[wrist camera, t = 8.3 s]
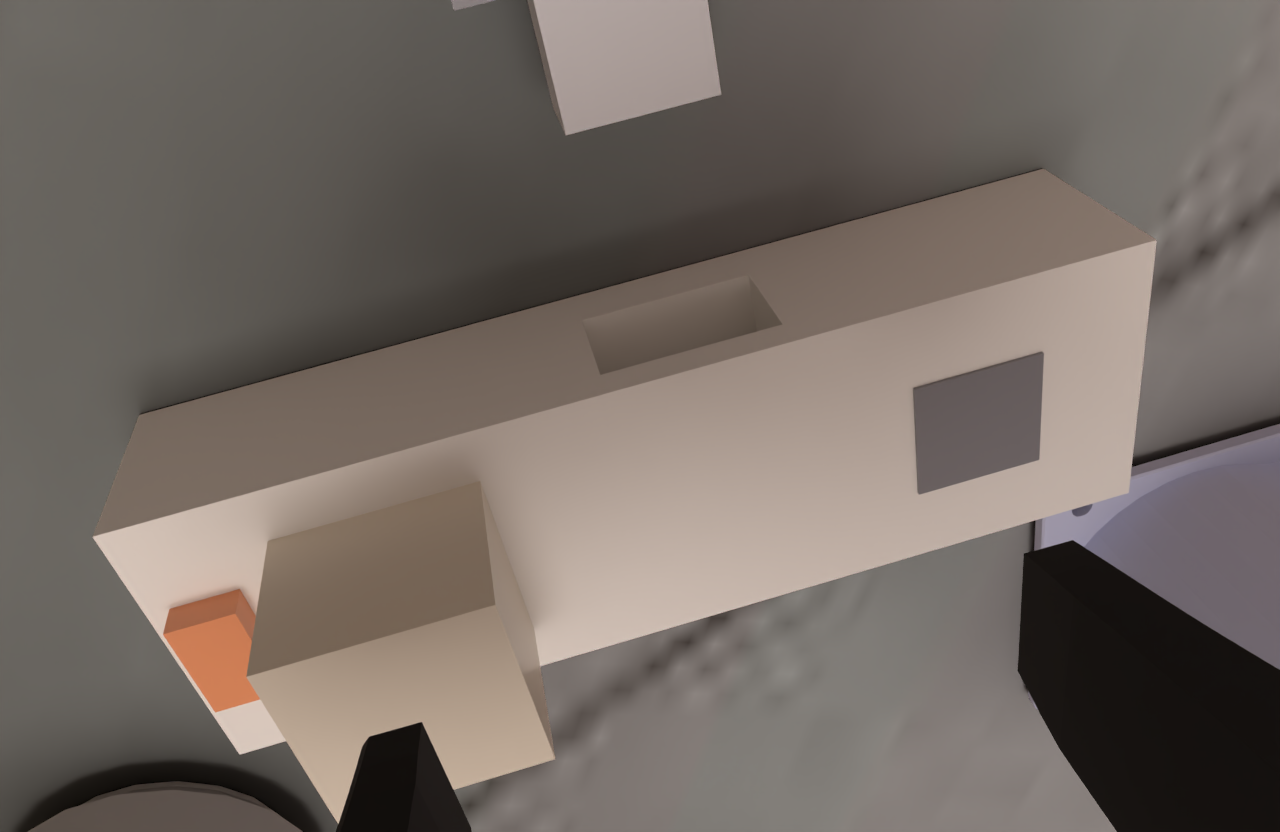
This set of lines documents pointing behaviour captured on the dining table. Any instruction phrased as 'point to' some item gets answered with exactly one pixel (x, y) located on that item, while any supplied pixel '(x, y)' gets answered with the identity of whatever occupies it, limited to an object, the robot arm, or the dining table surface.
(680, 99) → the block
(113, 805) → the can
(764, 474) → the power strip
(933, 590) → the dining table surface
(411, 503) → the beige plug
